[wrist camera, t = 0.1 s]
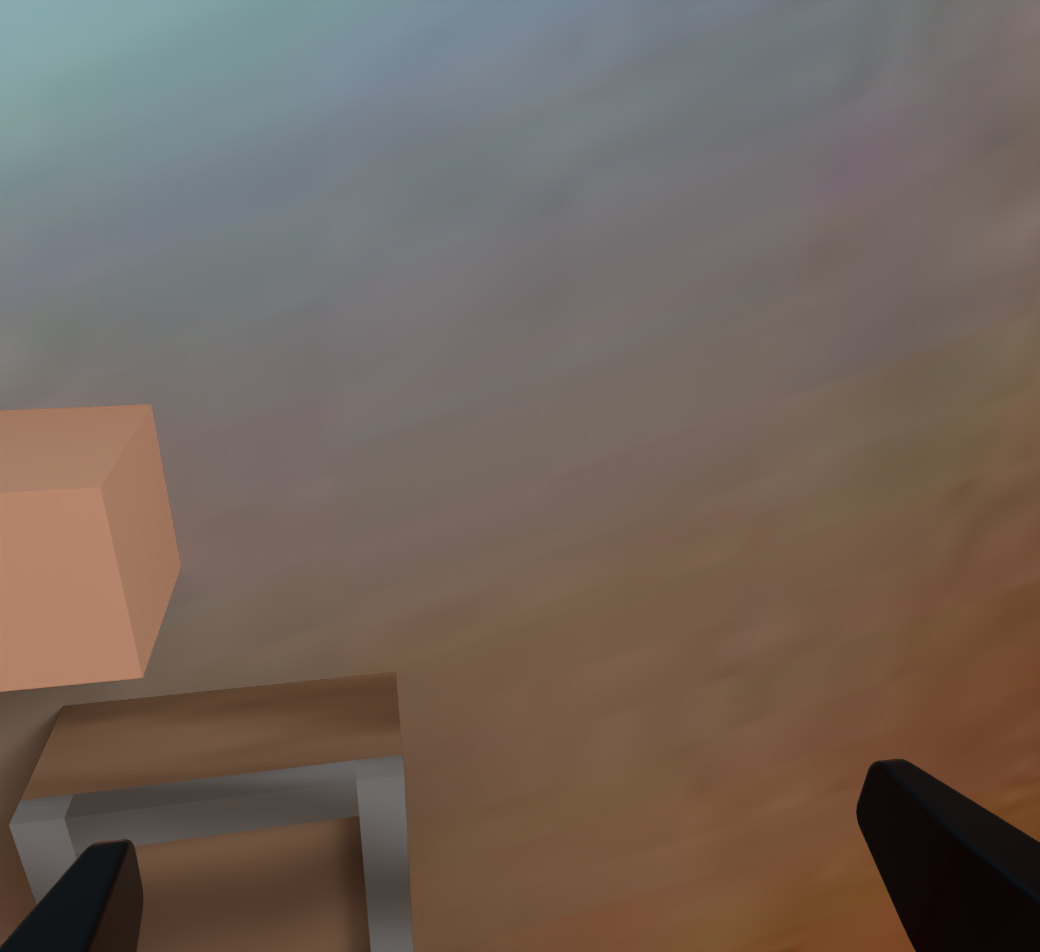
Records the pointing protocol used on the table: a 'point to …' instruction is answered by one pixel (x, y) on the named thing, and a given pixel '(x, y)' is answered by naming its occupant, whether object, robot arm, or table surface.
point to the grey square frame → (237, 814)
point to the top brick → (82, 545)
